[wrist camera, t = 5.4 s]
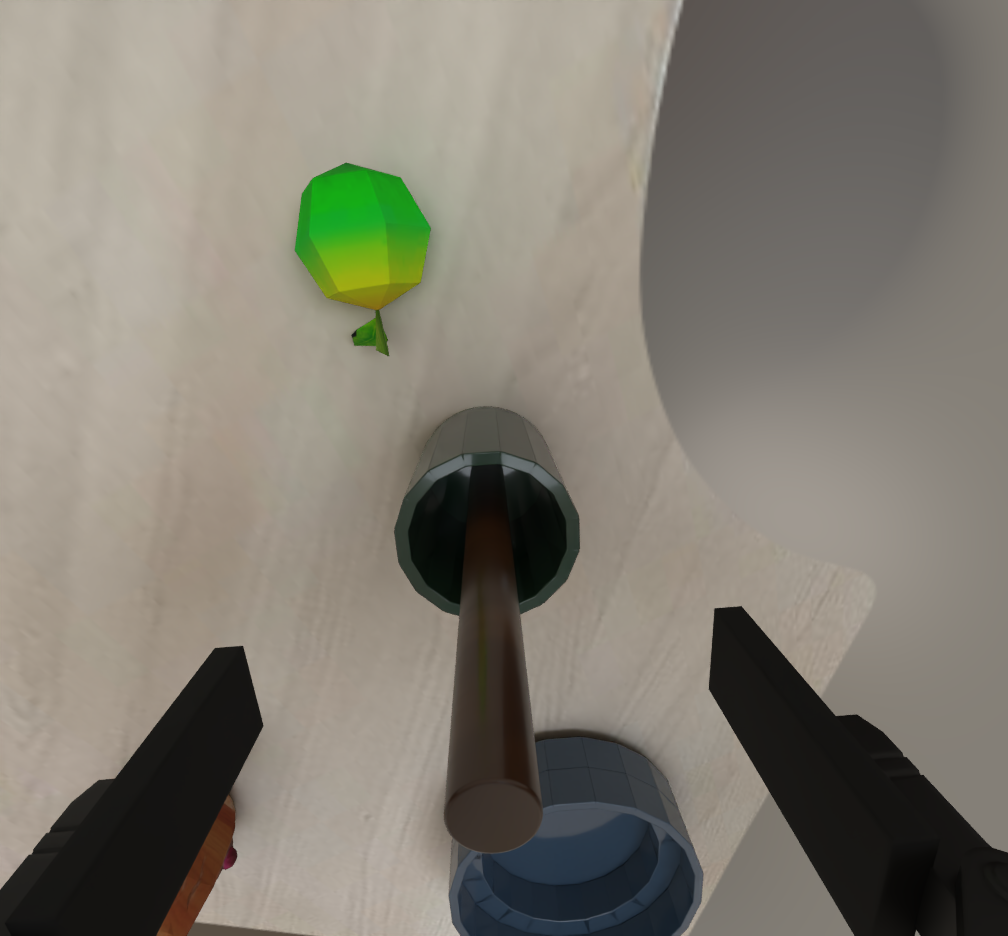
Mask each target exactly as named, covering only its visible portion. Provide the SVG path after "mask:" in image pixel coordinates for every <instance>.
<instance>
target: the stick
mask: <svg viewBox="0 0 1008 936" xmlns="http://www.w3.org/2000/svg"><path fill="white" fill-rule="evenodd" d="M542 818H543V806H542V797H541V789H540V780H539V772H538V763H537V754H536V746H535V737H534V729H533V720H532V712H531V703H530V695H529V686H528V678H527V669H526V661H525V652H524V644H523V635H522V627H521V618H520V610H519V601H518V593H517V584H516V576H515V567H514V559H513V550H512V541H511V533H510V524H509V516H508V507H507V499H506V490H505V482H504V473H503V469H502V467H501V466H500V465H485V466H473V467H472V469H471V472H470V484H469V497H468V510H467V523H466V536H465V549H464V562H463V574H462V587H461V600H460V613H459V626H458V639H457V652H456V665H455V677H454V690H453V703H452V716H451V729H450V742H449V755H448V767H447V780H446V793H445V806H444V821H445V825H446V827H447V830H448V832H449V834H450V835H451V836H452V838H453V839H454V840H455V841H456V842H457V843H459V844H460V845H462V846H463V847H465V848H467V849H470V850H472V851H476V852H480V853H490V854H493V853H503V852H508V851H511V850H514V849H516V848H519V847H521V846H522V845H524V844H526V843H527V842H528V841H530V840H531V839H532V838H533V837H534V835H535V834H536V833H537V831H538V829H539V827H540V825H541V822H542Z"/></svg>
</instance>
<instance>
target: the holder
mask: <svg viewBox="0 0 1008 936" xmlns="http://www.w3.org/2000/svg"><path fill="white" fill-rule="evenodd" d="M485 465H500V466H501V467H502V469H503V473H504V482H505V490H506V499H507V507H508V516H509V524H510V533H511V541H512V550H513V559H514V567H515V576H516V584H517V593H518V601H519V610H520V614H522V613H524V612H527V611H529V610H531V609H533V608H536V607H538V606H540V605H542V603H545V602H546V601H547V600H548V599H549V598H550V597H551V596H552V595H553V594H554V593H555V592H556V591H557V590H558V589H559V588H560V587H561V586H562V585H563V584H564V583H565V582H566V580H567V579H568V577H569V574H570V572H571V570H572V567H573V565H574V563H575V560H576V558H577V555H578V553H579V549H580V529H579V515H578V513H577V510H576V508H575V506H574V504H573V502H572V499H571V497H570V495H569V493H568V490H567V488H566V486H565V484H564V482H563V479H562V477H561V475H560V473H559V470H558V468H557V466H556V464H555V461H554V459H553V457H552V455H551V453H550V451H549V449H548V447H547V444H546V442H545V440H544V438H543V436H542V435H541V433H540V432H539V431H538V430H537V429H536V428H535V427H534V426H533V425H532V424H531V423H530V422H529V421H528V420H526V419H525V418H524V417H522V416H520V415H518V414H517V413H514V412H512V411H509V410H506V409H503V408H498V407H476V408H471V409H467V410H464V411H461V412H459V413H457V414H455V415H453V416H451V417H450V418H448V419H447V420H446V421H444V422H443V423H442V424H441V425H440V426H439V427H438V428H437V429H436V430H435V432H434V433H433V434H432V436H431V437H430V439H429V440H428V441H427V443H426V445H425V448H424V450H423V452H422V455H421V457H420V460H419V462H418V465H417V467H416V470H415V472H414V474H413V477H412V479H411V482H410V484H409V487H408V489H407V491H406V494H405V496H404V499H403V502H402V505H401V509H400V512H399V515H398V519H397V522H396V525H395V528H394V529H395V530H394V534H395V541H396V549H397V556H398V562H399V565H400V566H401V568H402V570H403V571H404V573H405V574H406V576H407V578H408V579H409V581H410V582H411V584H412V586H413V587H414V589H415V591H417V593H419V594H420V595H421V596H423V597H424V598H426V599H427V600H428V601H430V602H431V603H433V604H434V605H435V606H437V607H438V608H440V609H441V610H442V611H444V612H447V613H450V614H454V615H458V616H459V613H460V600H461V587H462V574H463V562H464V549H465V536H466V523H467V510H468V497H469V484H470V472H471V469H472V467H473V466H485Z"/></svg>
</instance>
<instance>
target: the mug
mask: <svg viewBox="0 0 1008 936" xmlns="http://www.w3.org/2000/svg"><path fill="white" fill-rule="evenodd" d="M234 829H235V808H234V805H233V801H232V799H231V798H230V796H229V795H228V796H227V798H226V800H225V802H224V804H223V806H222V808H221V810H220V812H219V814H218V816H217V818H216V820H215V822H214V824H213V826H212V828H211V830H210V832H209V834H208V835H207V837H206V839H205V841H204V843H203V845H202V847H201V849H200V851H199V853H198V855H197V857H196V859H195V861H194V863H193V865H192V867H191V869H190V871H189V873H188V875H187V877H186V879H185V881H184V882H183V884H182V886H181V888H180V890H179V892H178V894H177V896H176V898H175V900H174V902H173V904H172V906H171V908H170V910H169V912H168V914H167V916H166V918H165V920H164V922H163V924H162V926H161V928H160V929H159V931H158V933H157V935H156V936H187V934H188V932H189V930H190V929H191V927H192V925H193V923H194V921H195V919H196V918H197V916H198V914H199V912H200V910H201V909H202V907H203V905H204V903H205V901H206V899H207V898H208V896H209V894H210V892H211V890H212V888H213V887H214V884H215V882H216V880H217V879H218V877H219V875H220V873H221V871H222V869H225V870H226V869H228V868H230V867H232V866H233V864H234V863H235V861H236V859H237V851H236V850H235V849H234V848H233V838H232V837H233V833H234Z"/></svg>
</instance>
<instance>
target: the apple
mask: <svg viewBox="0 0 1008 936" xmlns="http://www.w3.org/2000/svg"><path fill="white" fill-rule="evenodd" d="M430 229H431V228H430V226H429V224H428V223H427V221H426V219H425V218H424V216H423V214H422V213H421V211H420V209H419V208H418V206H417V204H416V203H415V201H414V199H413V197H412V196H411V194H410V192H409V191H408V189H407V187H406V186H405V184H404V182H403V181H402V179H401V178H400V177H397V176H393V175H390V174H386V173H382V172H379V171H375V170H371V169H368V168H364V167H360V166H357V165H353V164H349V163H345V164H342V165H340V166H338V167H336V168H334V169H332V170H329V171H327V172H325V173H323V174H321V175H319V176H316V177H314V178H312V180H311V181H310V183H309V184H308V186H307V187H306V189H305V190H304V192H303V193H302V197H301V205H300V213H299V221H298V229H297V237H296V245H295V252H296V253H297V255H298V256H299V258H300V259H301V260H302V262H303V263H304V265H305V266H306V268H307V269H308V271H309V272H310V274H311V275H312V277H313V278H314V280H315V281H316V283H317V284H318V286H319V287H320V289H321V290H322V292H323V293H324V295H325V296H326V298H329V299H333V300H337V301H341V302H345V303H349V304H353V305H357V306H361V307H365V308H369V309H374V310H376V318H374V319H373V320H371V321H370V322H368V323H367V324H365V325H364V326H362V327H360V328H359V329H357V330H356V331H355V332H354V333H353V334H352V338H353V342H354V345H355V346H376V350H377V351H379V352H381V353H383V354H385V355H387V356H389V352H388V346H387V341H388V339H387V337H386V334H385V332H384V329H383V325H382V321H381V317H380V313H379V310H380V309H381V308H383V307H384V306H386V305H387V304H389V303H390V302H392V301H393V300H395V299H396V298H398V297H399V296H401V295H402V294H404V293H405V292H407V291H408V290H410V289H411V288H413V287H414V286H416V285H418V284H419V283H421V277H422V272H423V267H424V261H425V256H426V251H427V245H428V240H429V235H430Z"/></svg>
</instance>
